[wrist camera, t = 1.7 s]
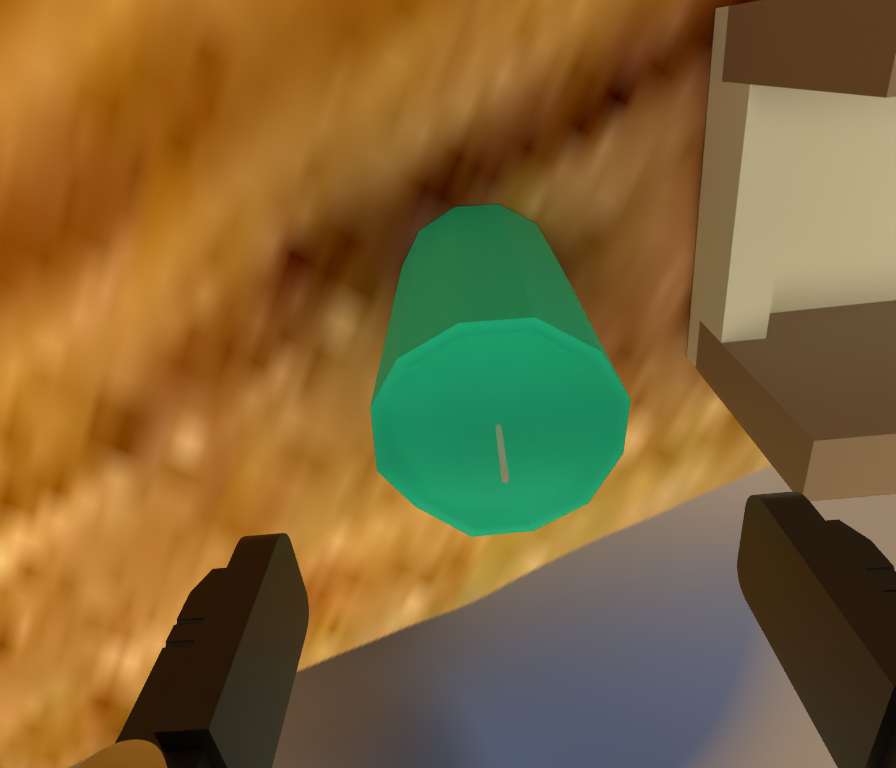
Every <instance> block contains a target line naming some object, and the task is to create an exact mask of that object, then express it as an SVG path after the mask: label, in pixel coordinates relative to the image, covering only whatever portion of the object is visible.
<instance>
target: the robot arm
mask: <svg viewBox="0 0 896 768" xmlns="http://www.w3.org/2000/svg"><path fill="white" fill-rule="evenodd" d="M737 571H738V578H739V583H740V587H741V589H742V592H743V595H744V597H745V599H746V601H747V603H748V605H749V607H750V609H751V610H752V612H753V614H754V616H755V618H756V620H757V621H758V623H759V625H760V627H761V629H762V631H763V632H764V634H765V636H766V638H767V639H768V641H769V643H770V645H771V647H772V649H773V650H774V652H775V654H776V656H777V658H778V660H779V661H780V663H781V665H782V667H783V668H784V671H785V672H786V674H787V676H788V678H789V680H790V682H791V683H792V685H793V687H794V689H795V691H796V692H797V694H798V696H799V698H800V700H801V702H802V703H803V705H804V707H805V709H806V711H807V712H808V714H809V716H810V718H811V720H812V721H813V723H814V725H815V727H816V729H817V730H818V732H819V734H820V736H821V738H822V740H823V742H824V743H825V745H826V747H827V749H828V750H829V752H830V754H831V756H832V758H833V760H834V762H835V763H836V765H837V767H838V768H896V572H895V570H894V566H893V565H892V564H891V563H890V562H889V560H888V559H887V558H886V557H885V556H884V555H883V554H882V553H881V551H880V550H879V549H878V548H877V547H876V546H875V544H874V543H873V542H872V541H871V540H869V539H868V538H866V537H865V536H863V535H862V534H860V533H859V532H857V531H855V530H854V529H852V528H851V527H849V526H848V525H846V524H844V523H843V522H841V521H840V520H828V521H825V520H824V518H823V517H822V516H821V515H820V514H819V512H818V511H817V510H816V509H815V507H814V506H813V505H812V504H811V503H810V501H809V500H808V499H807V498H806V497H805V496H804V495H803V494H802V493H800V492H784V493H772V494H760V495H752V496H750V497H749V498H748V500H747V502H746V506H745V513H744V520H743V526H742V534H741V540H740V547H739V553H738V561H737ZM308 618H309V606H308V597H307V593H306V589H305V586H304V583H303V580H302V576H301V573H300V570H299V567H298V563H297V560H296V557H295V554H294V550H293V547H292V544H291V541H290V538H289V537H288V535H287V534H285V533H279V534H267V535H256V536H245V537H242V538H241V539H240V540H239V542H238V544H237V546H236V548H235V550H234V553H233V555H232V557H231V559H230V562H229V564H228V566H227V568H218V569H212V570H211V571H210V572H209V573H208V575H207V576H206V577H205V578H204V579H203V580H202V581H201V582H200V583H199V584H198V585H197V586H196V587H195V588H194V589H193V590H192V591H191V592H190V594H189V596H188V598H187V600H186V602H185V604H184V606H183V608H182V610H181V612H180V614H179V616H178V618H177V624H176V625H174V626H173V628H172V630H171V632H170V634H169V636H168V638H167V640H166V647H165V648H162V650H161V652H160V654H159V656H158V659H157V661H156V663H155V665H154V667H153V669H152V671H151V673H150V675H149V677H148V679H147V681H146V683H145V685H144V687H143V689H142V691H141V693H140V695H139V697H138V699H137V701H136V703H135V705H134V707H133V709H132V711H131V713H130V715H129V717H128V719H127V721H126V723H125V725H124V727H123V729H122V731H121V733H120V735H119V737H118V739H117V740H116V742H115V744H113V745H110V746H108V747H106V748H104V749H102V750H100V751H98V752H97V753H95V754H94V755H92V756H91V757H90V758H88V759H87V760H86V761H84V762H83V763H82V764H81V765H80V766H79V767H78V768H272V765H273V761H274V757H275V753H276V749H277V745H278V741H279V738H280V734H281V730H282V726H283V722H284V718H285V714H286V710H287V706H288V702H289V699H290V694H291V691H292V687H293V683H294V679H295V675H296V671H297V667H298V663H299V659H300V655H301V652H302V648H303V644H304V640H305V636H306V632H307V627H308Z"/></svg>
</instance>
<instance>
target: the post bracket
mask: <svg viewBox="0 0 896 768" xmlns="http://www.w3.org/2000/svg"><path fill="white" fill-rule="evenodd" d="M687 358H688V359H689V360H690V361H691V363H692V364H693V365H694V367H695V368H696V369H697V370H698V372H699V373H700V374H701V375H702V377H703V378H704V379H705V381H706V382H707V383H708V384H709V386H710V387H711V388H712V389H713V391H714V392H715V393H716V394H717V396H718V397H719V398H720V400H721V401H722V402H723V403H724V405H725V406H726V407H727V408H728V410H729V411H730V412H731V414H732V415H733V416H734V417H735V419H736V420H737V421H738V422H739V424H740V425H741V426H742V428H743V429H744V430H745V431H746V433H747V434H748V435H749V436H750V438H751V439H752V440H753V441H754V443H755V444H756V445H757V447H758V448H759V449H760V450H761V452H762V453H763V454H764V455H765V457H766V458H767V459H768V461H769V462H770V463H771V464H772V466H773V467H774V468H775V469H776V471H777V472H778V473H779V474H780V476H781V477H782V478H783V479H784V481H785V482H786V483H787V485H788V486H789V487H790V488H791V490H792V491H793V492H800V493H802V494H803V495H804V496H805V497H806V498H807V499H808V500H809V501H817V500H818V501H819V500H830V499H842V498H853V497H864V496H877V495H889V494H896V0H760V1H754V2H748V3H743V4H737V5H731V6H726V7H720V8H716V9H715V21H714V33H713V45H712V58H711V70H710V82H709V94H708V106H707V118H706V130H705V142H704V154H703V166H702V178H701V190H700V202H699V214H698V226H697V238H696V250H695V262H694V274H693V287H692V299H691V311H690V323H689V335H688V347H687Z"/></svg>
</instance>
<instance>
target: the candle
mask: <svg viewBox="0 0 896 768" xmlns="http://www.w3.org/2000/svg"><path fill="white" fill-rule="evenodd" d="M629 407H630V398H629V396H628V394H627V392H626V390H625V388H624V386H623V384H622V382H621V381H620V379H619V377H618V375H617V373H616V371H615V369H614V367H613V365H612V363H611V361H610V359H609V357H608V356H607V354H606V352H605V350H604V348H603V346H602V344H601V342H600V340H599V338H598V336H597V334H596V333H595V331H594V329H593V327H592V325H591V323H590V321H589V319H588V317H587V315H586V313H585V311H584V310H583V308H582V306H581V304H580V302H579V300H578V298H577V296H576V294H575V292H574V290H573V288H572V286H571V285H570V283H569V281H568V279H567V277H566V275H565V273H564V271H563V269H562V267H561V265H560V263H559V262H558V260H557V258H556V256H555V254H554V253H553V251H552V249H551V248H550V246H549V244H548V243H547V241H546V239H545V237H544V236H543V234H542V232H541V231H540V229H539V227H538V226H537V224H536V223H534V222H532V221H530V220H528V219H526V218H524V217H522V216H520V215H519V214H517V213H515V212H513V211H511V210H509V209H507V208H505V207H503V206H501V205H499V204H493V205H477V206H461V207H454V208H453V209H451V210H450V211H448V212H447V213H445V214H444V215H442V216H441V217H439V218H438V219H436V220H435V221H433V222H432V223H430V224H429V225H427V226H426V227H424V228H423V229H421V230H420V231H419V232H418V234H417V236H416V239H415V241H414V243H413V245H412V247H411V249H410V251H409V253H408V255H407V257H406V260H405V262H404V264H403V266H402V268H401V272H400V277H399V281H398V286H397V290H396V295H395V299H394V304H393V308H392V313H391V317H390V322H389V326H388V331H387V335H386V340H385V344H384V349H383V353H382V358H381V362H380V367H379V371H378V376H377V380H376V385H375V389H374V394H373V398H372V402H371V417H372V427H373V436H374V446H375V456H376V466H377V471H378V472H379V473H380V474H381V475H382V476H383V477H384V478H385V479H386V480H387V481H389V482H390V483H391V484H392V485H393V486H394V487H395V488H396V489H397V490H398V491H399V492H400V493H401V494H403V495H404V496H405V497H406V498H407V499H408V500H409V501H410V502H411V503H412V504H413V505H414V506H415V507H417V508H419V509H421V510H423V511H425V512H427V513H428V514H430V515H432V516H434V517H436V518H438V519H440V520H441V521H443V522H445V523H447V524H449V525H451V526H452V527H454V528H456V529H458V530H460V531H462V532H464V533H465V534H467V535H469V536H471V537H473V536H483V535H494V534H505V533H516V532H526V531H534V530H536V529H538V528H540V527H542V526H544V525H546V524H548V523H550V522H552V521H554V520H556V519H558V518H560V517H562V516H564V515H566V514H568V513H570V512H572V511H574V510H576V509H578V508H580V507H582V506H584V505H586V504H588V503H589V501H590V500H591V499H592V497H593V496H594V494H595V493H596V491H597V490H598V489H599V487H600V486H601V484H602V483H603V481H604V480H605V479H606V477H607V476H608V474H609V473H610V471H611V470H612V469H613V467H614V466H615V464H616V463H617V461H618V460H619V459H620V457H621V456H622V454H623V451H624V444H625V436H626V429H627V421H628V414H629Z"/></svg>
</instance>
